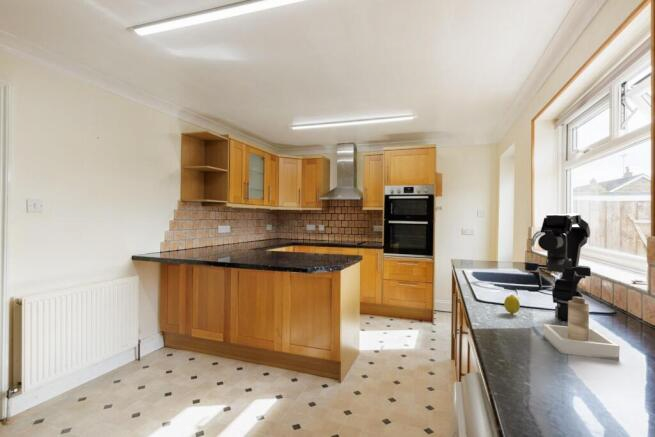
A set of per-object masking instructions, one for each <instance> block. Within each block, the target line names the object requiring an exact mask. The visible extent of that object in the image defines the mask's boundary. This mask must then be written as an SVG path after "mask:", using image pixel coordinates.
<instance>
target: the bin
mask: <svg viewBox="0 0 655 437" xmlns="http://www.w3.org/2000/svg"><path fill="white" fill-rule="evenodd" d="M543 338H545V339H546V340H547V341H548V342H549V343H550V344H551V345H552V346H553V347H554V349H555V350H557V351H558V352H559V353H560V354H564V355H571V354H572V355H573V356H579V357H588V358H589V357H590V358H598V359H606V360H613V361H620V345H619V344H617V343H616V342H614V341H613V340H611V339H610V338H608V337H607V336H605V335H604V334H602V333H600V332H599V331H598V330H596V329H595V328H589V339H588V341H578V340H569V339H568V325H567V326H565V325H557V324H547V323H543ZM572 355H571V356H572Z"/></svg>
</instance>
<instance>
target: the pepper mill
mask: <svg viewBox="0 0 655 437" xmlns="http://www.w3.org/2000/svg"><path fill="white" fill-rule="evenodd" d="M589 317H590V303H589V302H586V298H585V297H583V298H582V297H572V300H569V301H568V322H567V326H568V339H569V340H578V341H588V339H589V329H590V328H589V324H590V322H589V321H590V318H589Z"/></svg>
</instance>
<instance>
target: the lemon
mask: <svg viewBox="0 0 655 437" xmlns="http://www.w3.org/2000/svg"><path fill="white" fill-rule="evenodd" d="M503 304H504V309H505V310H506V311H507V313H509V314H510V315H514V314H516V313H518V311H520V310H521V309H520V307H521V304H520V301H519V299H518V298H517V297H516V295H515V296H514V295H513V294H511V295H508V296H506V298H505V299H504V303H503Z"/></svg>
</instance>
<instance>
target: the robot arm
mask: <svg viewBox="0 0 655 437" xmlns="http://www.w3.org/2000/svg"><path fill="white" fill-rule="evenodd" d="M540 233H541V234H542V235H540V237H539V238H538V241H537V244H538V246H539V247H540V249H542V250H543V251H546V253H547V255H546V260H545V262H546V263H545V264H542V263H541V264H540V261H539V262H538V261H530V260H529V261H527V262H526V263H525V267H524V269H525V271H529V273H531V274H532V275H533V276H534V278H535V280H536V282H537V285H538V287H539V288H538V289H539V290H540V291H542V289H543V284H542V275H541V270H545V271H547V272H549V273H550V272H557V273H561V277H560V278H557V279H555V283H554V286H553V287H552V289H551V295H552V303H554V304H556V306H555V307H554V317H555V318H556V319H558V320H559V321H560V322H564V323H568V301H569V300H572V297H582V298H584V297H583V294H582V292H581V289H580V287H579V285H578V284H580V281H581V280H582V279H586V277H591V275H592V273H591V272H592V271H591V269H592V268H591V267H589V266H588V265H580V264H579V261H580V257H581V256H580V255H581V249H582V247H584V246H585V245H586V244H587V243H588V238H590V237H591V229H590V225H589V223H588V222H587V221H585V220H584V219H583V218H582V215H581V214H578V213H564V214H560V213H557V214H556V213H555V214H554V213H553V214H550V213H548V214H546V217H544V218H543V221H542V226H541V228H540Z"/></svg>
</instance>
